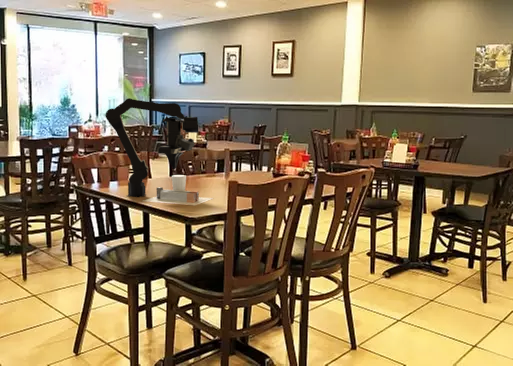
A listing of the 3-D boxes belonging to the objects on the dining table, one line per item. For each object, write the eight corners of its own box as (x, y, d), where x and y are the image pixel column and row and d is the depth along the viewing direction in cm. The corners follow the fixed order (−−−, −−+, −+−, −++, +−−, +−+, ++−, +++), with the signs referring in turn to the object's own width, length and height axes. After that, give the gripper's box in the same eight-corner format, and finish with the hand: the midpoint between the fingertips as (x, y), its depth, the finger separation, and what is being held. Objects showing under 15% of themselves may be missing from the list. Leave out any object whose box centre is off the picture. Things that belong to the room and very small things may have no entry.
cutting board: (141, 202, 209) (141, 200, 209) (163, 195, 226) (163, 194, 226) (195, 206, 201) (195, 205, 201) (213, 199, 218) (213, 198, 218)
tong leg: (155, 198, 214) (155, 188, 214) (158, 197, 217) (158, 187, 216) (196, 201, 209) (196, 190, 209) (198, 200, 212) (198, 189, 211)
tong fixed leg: (160, 200, 211) (160, 191, 211) (162, 199, 213) (162, 190, 213) (193, 202, 207) (193, 193, 206) (195, 201, 209) (195, 193, 208)
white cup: (175, 191, 237) (175, 176, 236) (169, 190, 243) (168, 175, 242) (189, 190, 241) (189, 175, 240) (182, 188, 247) (182, 174, 246)
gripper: (181, 133, 210) (181, 171, 212) (200, 132, 228) (200, 167, 230) (156, 133, 214) (157, 170, 216) (177, 131, 231) (177, 166, 233)
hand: (174, 168), depth 224 cm, fingers closed
